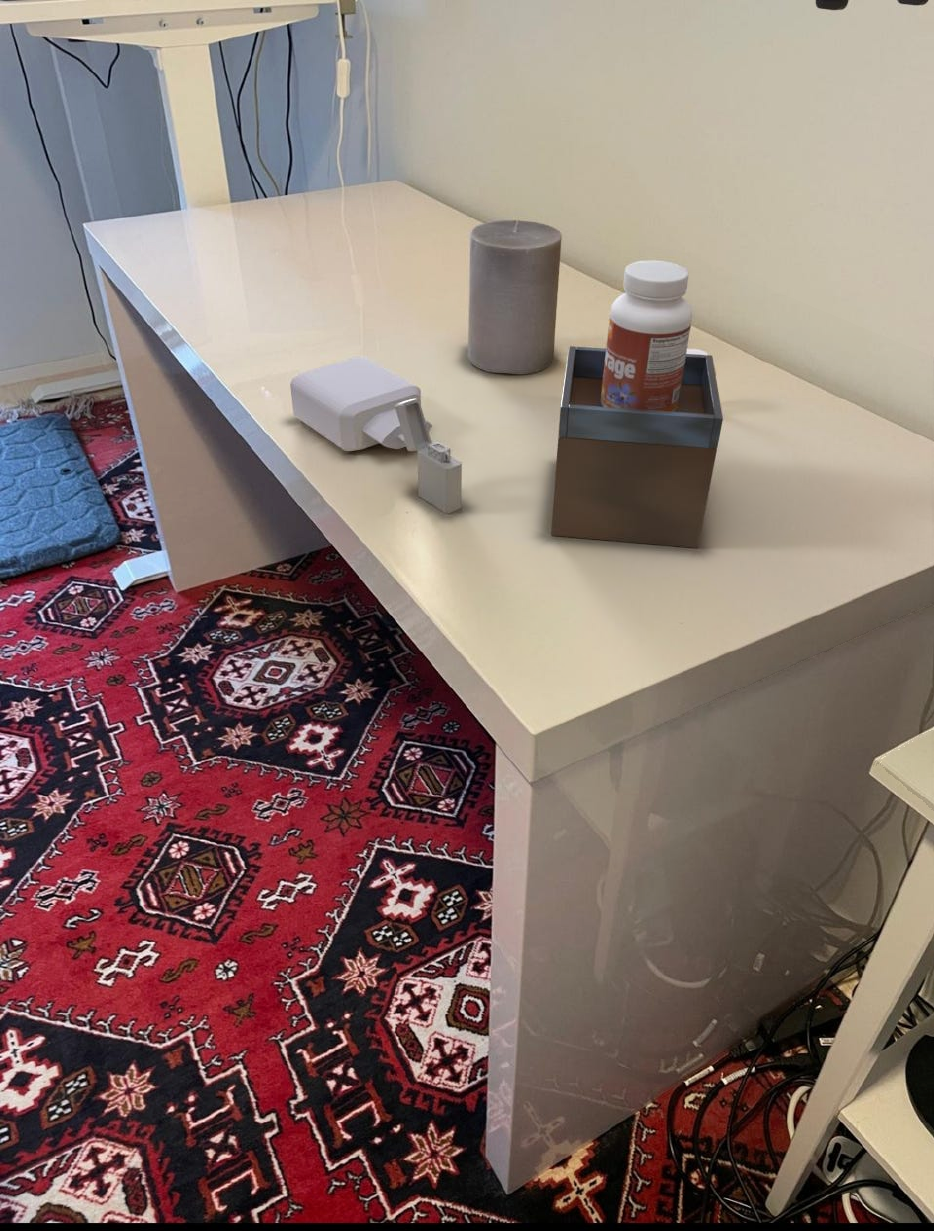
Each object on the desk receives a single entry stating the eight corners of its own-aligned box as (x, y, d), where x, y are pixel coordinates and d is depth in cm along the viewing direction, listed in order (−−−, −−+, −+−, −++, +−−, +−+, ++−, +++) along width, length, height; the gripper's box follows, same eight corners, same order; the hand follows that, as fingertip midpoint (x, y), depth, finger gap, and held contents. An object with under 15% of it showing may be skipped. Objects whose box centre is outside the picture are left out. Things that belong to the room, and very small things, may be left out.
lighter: (462, 507, 82) (463, 422, 77) (447, 514, 81) (447, 428, 76) (412, 475, 86) (410, 393, 81) (396, 481, 85) (393, 398, 80)
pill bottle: (587, 397, 79) (600, 260, 72) (653, 387, 80) (673, 253, 74) (620, 430, 74) (638, 287, 67) (690, 419, 76) (714, 279, 69)
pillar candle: (516, 335, 113) (523, 202, 104) (571, 363, 107) (583, 223, 98) (449, 354, 108) (450, 215, 99) (502, 383, 102) (508, 239, 93)
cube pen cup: (691, 476, 87) (712, 355, 80) (698, 548, 77) (723, 418, 70) (559, 465, 88) (569, 345, 81) (550, 535, 79) (560, 406, 72)
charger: (380, 481, 85) (293, 421, 94) (460, 451, 90) (370, 397, 99) (378, 433, 82) (288, 376, 92) (461, 405, 87) (368, 353, 96)
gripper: (923, -339, 51) (845, 17, 61) (1076, -313, 57) (982, 7, 67) (814, -321, 56) (759, 6, 66) (965, -298, 62) (894, -3, 72)
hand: (872, 6), depth 66 cm, fingers open, 8 cm apart
